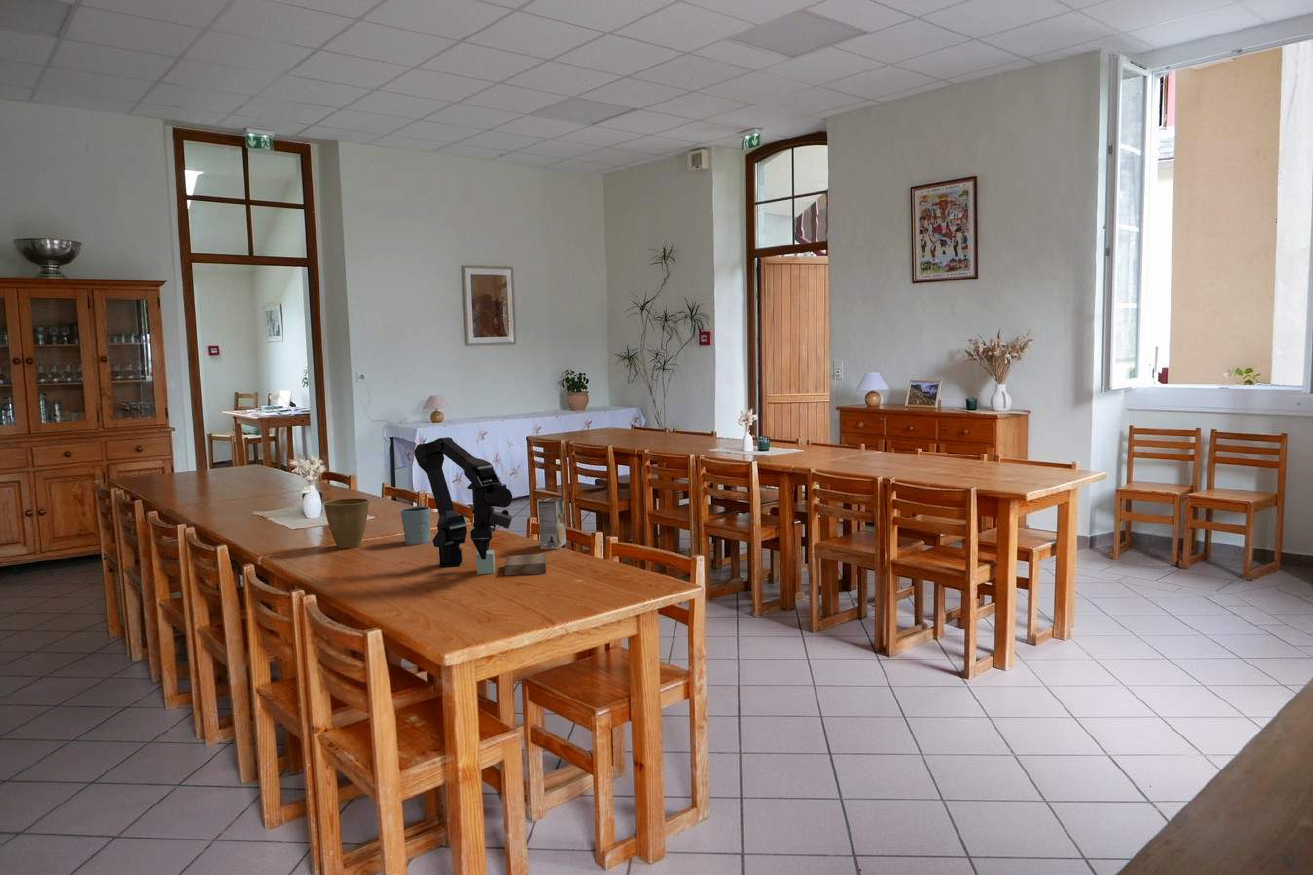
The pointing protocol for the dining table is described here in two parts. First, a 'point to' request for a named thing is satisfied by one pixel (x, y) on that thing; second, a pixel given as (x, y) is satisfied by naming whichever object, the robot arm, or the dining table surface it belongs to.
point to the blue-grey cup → (416, 525)
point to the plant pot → (347, 520)
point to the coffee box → (552, 522)
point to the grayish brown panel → (525, 564)
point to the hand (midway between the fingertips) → (485, 555)
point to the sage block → (486, 563)
